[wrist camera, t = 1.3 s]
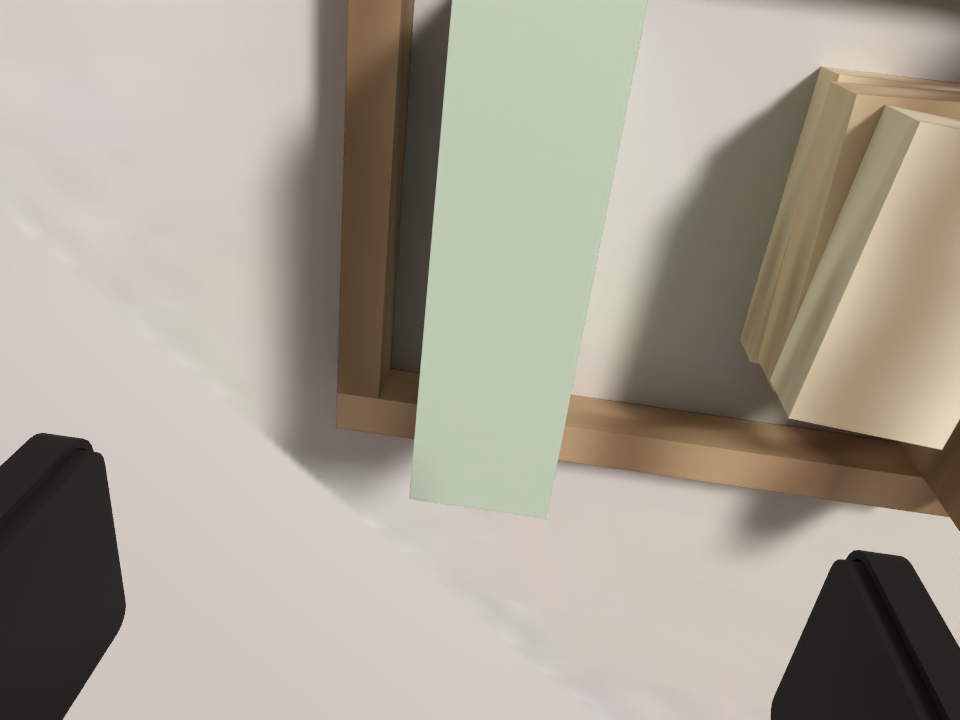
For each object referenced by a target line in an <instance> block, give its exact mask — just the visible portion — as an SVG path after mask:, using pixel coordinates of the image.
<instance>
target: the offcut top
mask: <svg viewBox="0 0 960 720" xmlns="http://www.w3.org/2000/svg"><path fill="white" fill-rule="evenodd" d="M770 381H771V383H772V385H773V387H774V389H775V391H776V393H777V395H778V398H779V400H780V402H781V404H782V406H783V408H784V410H785V412H786V414H787V417H788V418H789V419H794V420H799V421H804V422H809V423H814V424H819V425H824V426H828V427H833V428H838V429H843V430H848V431H853V432H858V433H862V434H867V435H872V436H877V437H882V438H887V439H892V440H897V441H901V442H906V443H911V444H916V445H921V446H926V447H931V448H936V449H940V450H942V449H943V447H944V446H945V444H946V442H947V440H948V439H949V437H950V435H951V433H952V432H953V430H954V428H955V426H956V425H957V423H958V421H959V419H960V120H958V119H953V118H948V117H943V116H938V115H933V114H928V113H923V112H919V111H914V110H909V109H904V108H899V107H894V106H889V105H885V107H884V109H883V112H882V114H881V117H880V119H879V121H878V124H877V126H876V129H875V131H874V133H873V136H872V138H871V140H870V143H869V145H868V148H867V150H866V152H865V155H864V157H863V159H862V162H861V164H860V167H859V169H858V171H857V174H856V176H855V179H854V181H853V183H852V186H851V188H850V190H849V193H848V195H847V198H846V200H845V202H844V205H843V207H842V210H841V212H840V214H839V217H838V219H837V221H836V224H835V226H834V229H833V231H832V233H831V236H830V238H829V241H828V243H827V245H826V248H825V250H824V252H823V255H822V257H821V260H820V262H819V264H818V267H817V269H816V271H815V274H814V276H813V279H812V281H811V283H810V286H809V288H808V291H807V293H806V295H805V298H804V300H803V303H802V305H801V307H800V310H799V312H798V315H797V317H796V319H795V322H794V324H793V326H792V329H791V331H790V333H789V336H788V338H787V341H786V343H785V345H784V348H783V350H782V353H781V355H780V357H779V360H778V362H777V364H776V367H775V369H774V372H773V374H772V376H771V379H770Z"/></svg>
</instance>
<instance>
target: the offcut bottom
mask: <svg viewBox="0 0 960 720" xmlns="http://www.w3.org/2000/svg"><path fill="white" fill-rule="evenodd" d="M830 81H832V82H845V83H857V84H870V85H883V86H896V87H909V88H922V89H935V90H948V91H960V83H951V82H943V81H935V80H927V79H919V78H911V77H903V76H895V75H887V74H879V73H871V72H863V71H855V70H847V69H838V68H830V67H822V66H821V68H820V72H819V75H818V78H817V82H816V85H815V88H814V92H813V95H812V98H811V102H810V105H809V108H808V112H807V115H806V118H805V122H804V125H803V129H802V132H801V135H800V139H799V142H798V145H797V149H796V152H795V155H794V159H793V162H792V165H791V169H790V172H789V176H788V179H787V182H786V186H785V189H784V192H783V196H782V199H781V202H780V206H779V209H778V212H777V216H776V219H775V222H774V226H773V229H772V233H771V236H770V239H769V243H768V246H767V249H766V253H765V256H764V259H763V263H762V266H761V269H760V273H759V276H758V280H757V283H756V286H755V290H754V293H753V296H752V300H751V303H750V306H749V310H748V313H747V316H746V320H745V323H744V326H743V330H742V333H741V337H740V342H741V344H742V346H743V348H744V350H745V352H746V355H747V357H748V359H749V361H750V363H756V364H760V363H759V361H758V355H759V352H760V348H761V344H762V340H763V336H764V332H765V329H766V325H767V321H768V317H769V313H770V310H771V306H772V302H773V298H774V294H775V291H776V287H777V283H778V279H779V275H780V271H781V268H782V264H783V260H784V256H785V252H786V249H787V245H788V241H789V237H790V233H791V230H792V226H793V222H794V218H795V214H796V210H797V207H798V203H799V199H800V195H801V191H802V188H803V184H804V180H805V176H806V172H807V169H808V165H809V161H810V157H811V153H812V150H813V146H814V142H815V138H816V134H817V130H818V127H819V123H820V119H821V115H822V111H823V108H824V104H825V100H826V96H827V92H828V89H829V85H830Z"/></svg>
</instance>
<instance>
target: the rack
mask: <svg viewBox="0 0 960 720" xmlns="http://www.w3.org/2000/svg"><path fill="white" fill-rule="evenodd" d="M413 13H414V0H348V27H347V63H346V99H345V135H344V171H343V206H342V242H341V278H340V314H339V350H338V386H337V422H336V428H342V429H349V430H356V431H363V432H370V433H377V434H383V435H390V436H397V437H404V438H411V439H414V437H415V426H416V414H417V402H418V391H419V379H420V373H414V372H407V371H400V370H393V369H390V367H391V352H392V337H393V321H394V306H395V290H396V275H397V259H398V244H399V229H400V213H401V198H402V182H403V167H404V152H405V136H406V121H407V105H408V90H409V74H410V59H411V44H412V28H413ZM558 460H562V461H568V462H575V463H582V464H589V465H596V466H603V467H610V468H616V469H623V470H630V471H637V472H644V473H651V474H658V475H664V476H671V477H678V478H685V479H692V480H699V481H706V482H712V483H719V484H726V485H733V486H740V487H747V488H754V489H760V490H767V491H774V492H781V493H788V494H795V495H802V496H808V497H815V498H822V499H829V500H836V501H843V502H850V503H856V504H863V505H870V506H877V507H884V508H891V509H897V510H904V511H911V512H918V513H925V514H932V515H939V516H945V517H949V516H950V518H951V519H952V521H953V522H954V524H955V525H956V527H957V528H958V530H959V531H960V419H959V421H958V423H957V425H956V426H955V428H954V430H953V432H952V433H951V435H950V437H949V439H948V440H947V442H946V444H945V446H944V447H943V449H942V450H940V449H936V448H931V447H926V446H921V445H916V444H911V443H906V442H901V441H899V442H895V441H888V440H881V439H874V438H867V437H860V436H853V435H846V434H839V433H832V432H825V431H818V430H811V429H804V428H797V427H790V426H783V425H776V424H769V423H762V422H755V421H748V420H741V419H734V418H727V417H720V416H713V415H706V414H699V413H692V412H685V411H678V410H671V409H665V408H658V407H651V406H644V405H637V404H630V403H623V402H616V401H609V400H602V399H595V398H588V397H581V396H574V395H571V396H570V402H569V407H568V412H567V417H566V422H565V427H564V432H563V437H562V442H561V448H560V453H559V458H558Z"/></svg>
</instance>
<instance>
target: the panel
mask: <svg viewBox="0 0 960 720" xmlns="http://www.w3.org/2000/svg"><path fill="white" fill-rule="evenodd" d="M647 3H648V0H452V7H451V19H450V30H449V42H448V54H447V65H446V77H445V88H444V100H443V112H442V123H441V135H440V147H439V158H438V170H437V181H436V193H435V205H434V216H433V228H432V240H431V251H430V263H429V274H428V286H427V298H426V309H425V321H424V333H423V344H422V356H421V367H420V379H419V391H418V402H417V414H416V426H415V437H414V449H413V460H412V472H411V484H410V495H409V499H413V500H420V501H427V502H434V503H440V504H447V505H454V506H461V507H467V508H474V509H481V510H488V511H494V512H501V513H508V514H515V515H521V516H528V517H535V518H542V519H547V514H548V509H549V504H550V499H551V494H552V488H553V483H554V478H555V473H556V468H557V463H558V458H559V453H560V448H561V442H562V437H563V432H564V427H565V422H566V417H567V412H568V407H569V402H570V396H571V391H572V386H573V381H574V376H575V371H576V366H577V361H578V356H579V351H580V345H581V340H582V335H583V330H584V325H585V320H586V315H587V310H588V305H589V299H590V294H591V289H592V284H593V279H594V274H595V269H596V264H597V259H598V253H599V248H600V243H601V238H602V233H603V228H604V223H605V218H606V213H607V207H608V202H609V197H610V192H611V187H612V182H613V177H614V172H615V167H616V162H617V156H618V151H619V146H620V141H621V136H622V131H623V126H624V121H625V116H626V110H627V105H628V100H629V95H630V90H631V85H632V80H633V75H634V70H635V64H636V59H637V54H638V49H639V44H640V39H641V34H642V29H643V24H644V19H645V13H646V8H647Z"/></svg>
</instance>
